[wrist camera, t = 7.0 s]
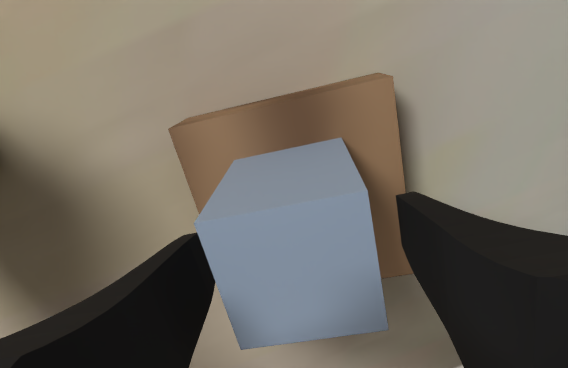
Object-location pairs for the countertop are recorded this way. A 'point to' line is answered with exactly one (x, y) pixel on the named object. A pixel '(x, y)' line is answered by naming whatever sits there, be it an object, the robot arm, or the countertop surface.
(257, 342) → the block
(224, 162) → the base
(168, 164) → the countertop surface
